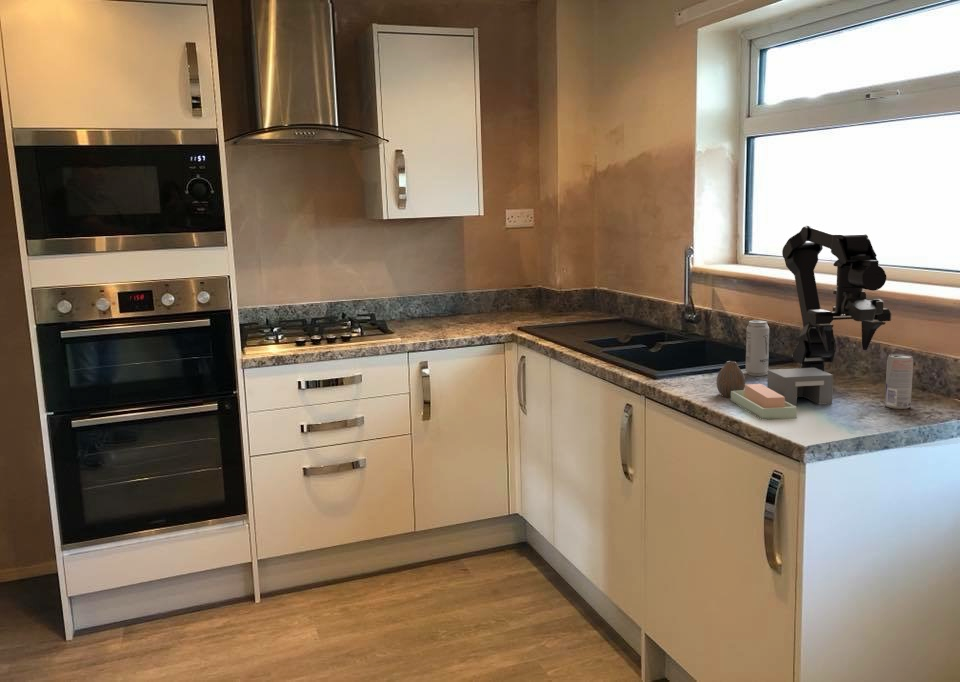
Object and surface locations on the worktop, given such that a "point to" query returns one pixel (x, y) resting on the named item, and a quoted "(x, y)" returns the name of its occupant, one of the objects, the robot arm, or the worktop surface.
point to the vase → (730, 379)
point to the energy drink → (899, 381)
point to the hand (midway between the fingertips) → (846, 350)
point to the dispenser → (802, 384)
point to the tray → (760, 412)
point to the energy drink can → (757, 348)
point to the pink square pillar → (763, 396)
